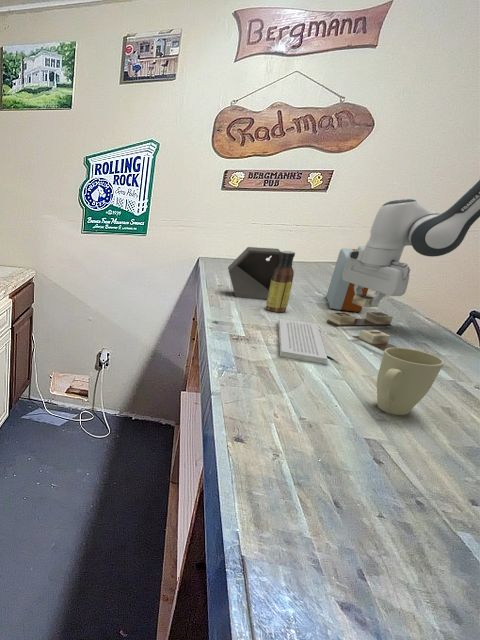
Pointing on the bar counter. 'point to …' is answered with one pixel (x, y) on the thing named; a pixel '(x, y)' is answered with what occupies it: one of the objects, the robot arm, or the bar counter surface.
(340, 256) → the orange grey tall block
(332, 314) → the back rack
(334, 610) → the bar counter surface
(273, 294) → the sauce bottle
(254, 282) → the planter
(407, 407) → the mug
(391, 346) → the front rack
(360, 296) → the s tile
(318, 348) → the plaque
